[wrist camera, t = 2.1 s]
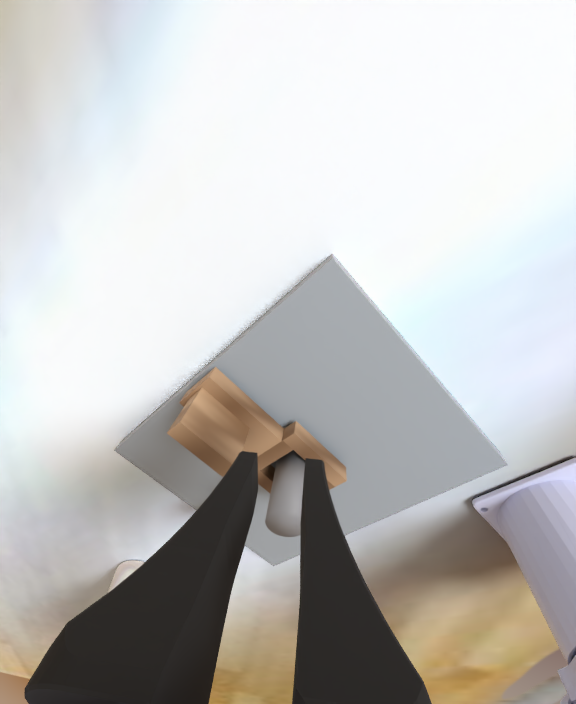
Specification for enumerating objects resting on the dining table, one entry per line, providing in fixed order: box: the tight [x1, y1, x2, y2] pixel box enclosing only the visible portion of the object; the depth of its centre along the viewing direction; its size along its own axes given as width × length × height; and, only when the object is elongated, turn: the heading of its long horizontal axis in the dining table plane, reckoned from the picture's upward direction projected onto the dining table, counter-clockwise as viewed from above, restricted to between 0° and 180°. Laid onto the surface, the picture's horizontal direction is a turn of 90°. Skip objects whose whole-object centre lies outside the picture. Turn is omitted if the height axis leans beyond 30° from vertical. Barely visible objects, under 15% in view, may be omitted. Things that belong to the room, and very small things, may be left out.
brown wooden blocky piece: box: [167, 367, 347, 493], centre depth 20 cm, size 11×5×4 cm, turn 43°
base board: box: [114, 254, 508, 566], centre depth 21 cm, size 18×22×6 cm
